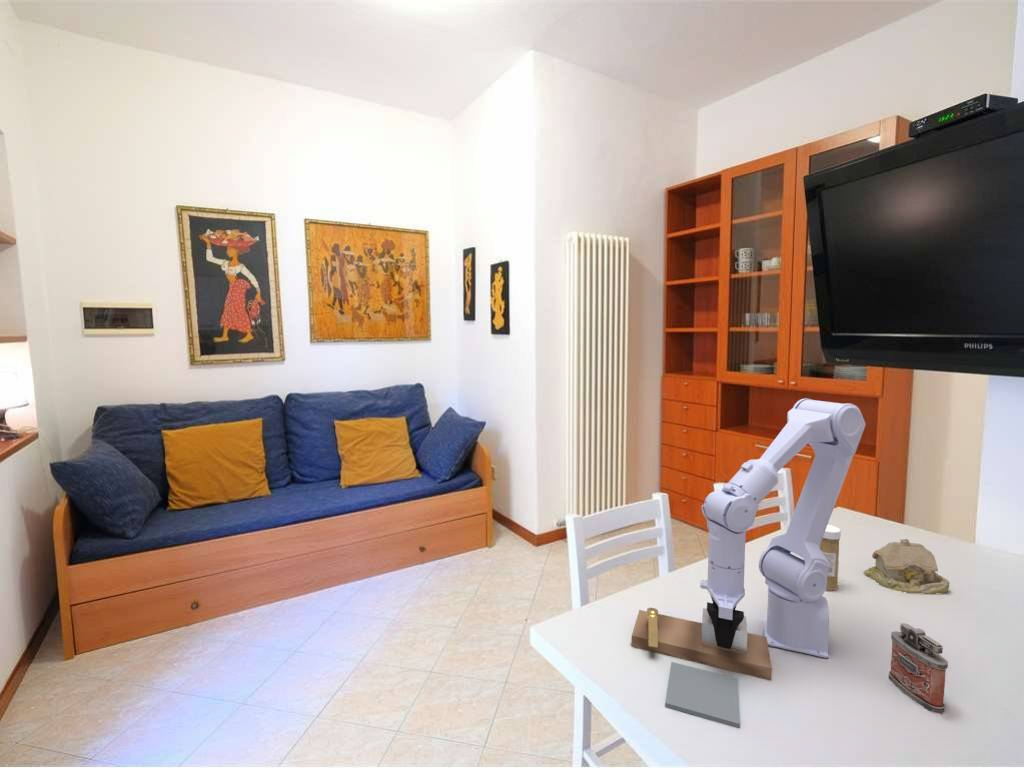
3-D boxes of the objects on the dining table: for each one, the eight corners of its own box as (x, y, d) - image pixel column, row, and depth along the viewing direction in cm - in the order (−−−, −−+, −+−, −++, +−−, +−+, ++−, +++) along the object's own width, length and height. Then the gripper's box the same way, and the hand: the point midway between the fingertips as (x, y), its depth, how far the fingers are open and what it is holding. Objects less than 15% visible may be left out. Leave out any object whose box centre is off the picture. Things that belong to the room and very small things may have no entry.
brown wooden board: (766, 647, 84) (766, 636, 84) (771, 680, 76) (771, 668, 76) (639, 619, 93) (639, 609, 93) (631, 646, 85) (631, 635, 84)
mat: (737, 681, 76) (737, 678, 75) (739, 728, 66) (739, 723, 66) (671, 665, 80) (671, 661, 79) (665, 706, 70) (665, 702, 70)
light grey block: (745, 638, 83) (745, 616, 83) (746, 655, 79) (747, 632, 79) (702, 629, 86) (702, 608, 86) (701, 645, 82) (702, 622, 81)
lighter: (882, 676, 77) (885, 616, 76) (901, 674, 77) (905, 615, 76) (930, 714, 69) (934, 648, 68) (951, 712, 69) (956, 647, 68)
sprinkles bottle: (841, 587, 105) (844, 528, 104) (832, 593, 102) (835, 533, 101) (819, 579, 109) (821, 522, 108) (809, 584, 106) (811, 526, 105)
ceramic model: (880, 591, 103) (882, 546, 103) (856, 568, 114) (858, 527, 114) (957, 599, 100) (960, 553, 99) (925, 574, 111) (928, 533, 110)
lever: (646, 621, 89) (646, 607, 88) (657, 623, 88) (658, 608, 88) (646, 645, 81) (647, 630, 81) (659, 647, 81) (659, 632, 81)
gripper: (702, 542, 90) (700, 610, 91) (699, 576, 76) (697, 656, 77) (743, 548, 87) (741, 619, 88) (748, 584, 74) (745, 667, 75)
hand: (723, 637), depth 83 cm, fingers closed on light grey block, 5 cm apart
